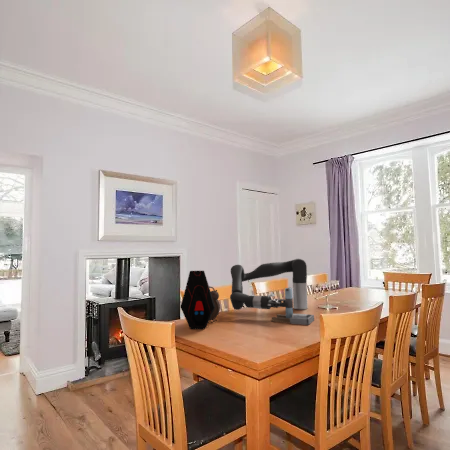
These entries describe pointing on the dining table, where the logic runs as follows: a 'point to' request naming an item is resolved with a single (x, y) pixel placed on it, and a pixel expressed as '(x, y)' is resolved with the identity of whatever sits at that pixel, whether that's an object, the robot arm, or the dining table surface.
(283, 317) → the slot rails
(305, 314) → the chip
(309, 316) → the tray
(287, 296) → the rod
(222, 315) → the dining table surface
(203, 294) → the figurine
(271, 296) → the phone holder
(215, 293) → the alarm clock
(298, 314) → the chip
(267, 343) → the dining table surface
